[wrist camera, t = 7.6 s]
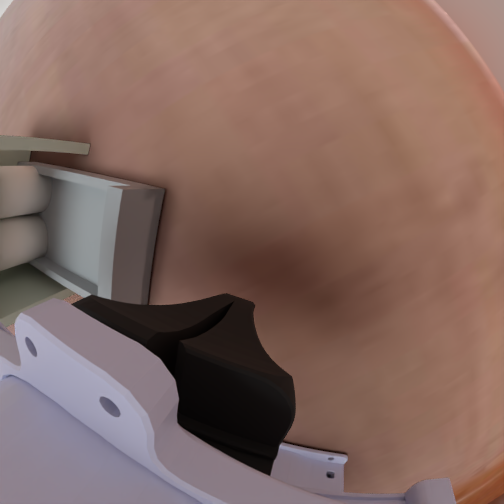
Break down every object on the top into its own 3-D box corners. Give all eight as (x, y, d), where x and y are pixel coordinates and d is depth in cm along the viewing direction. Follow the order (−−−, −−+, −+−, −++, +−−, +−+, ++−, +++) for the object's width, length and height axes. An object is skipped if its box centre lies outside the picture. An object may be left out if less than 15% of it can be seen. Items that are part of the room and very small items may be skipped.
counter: (90, 144, 16) (-27, 134, 7) (75, 293, 19) (-17, 339, 10) (29, 139, 18) (-53, 137, 8) (20, 257, 21) (-53, 281, 11)
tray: (164, 188, 15) (98, 190, 10) (146, 309, 17) (91, 348, 12) (35, 161, 17) (-15, 162, 12) (28, 246, 19) (-18, 259, 14)
